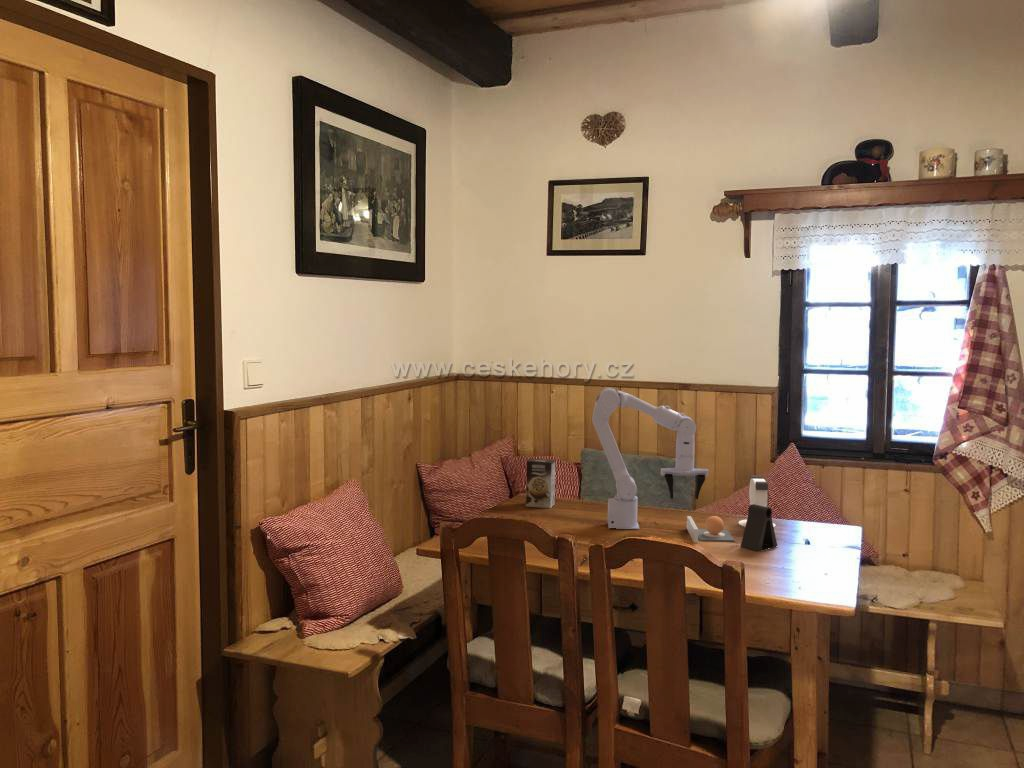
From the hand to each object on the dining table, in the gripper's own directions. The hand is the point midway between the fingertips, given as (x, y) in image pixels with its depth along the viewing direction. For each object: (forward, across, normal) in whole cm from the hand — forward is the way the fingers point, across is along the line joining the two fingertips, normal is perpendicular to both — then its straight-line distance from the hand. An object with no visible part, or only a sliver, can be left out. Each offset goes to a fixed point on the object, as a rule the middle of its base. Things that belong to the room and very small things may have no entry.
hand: (684, 498), depth 261 cm
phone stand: (+10, +19, -20) cm, 29 cm away
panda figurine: (+10, +24, +6) cm, 27 cm away
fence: (+9, +2, -9) cm, 13 cm away
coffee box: (+10, -46, +26) cm, 54 cm away
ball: (+6, +8, -9) cm, 14 cm away
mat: (+9, +8, -9) cm, 15 cm away
